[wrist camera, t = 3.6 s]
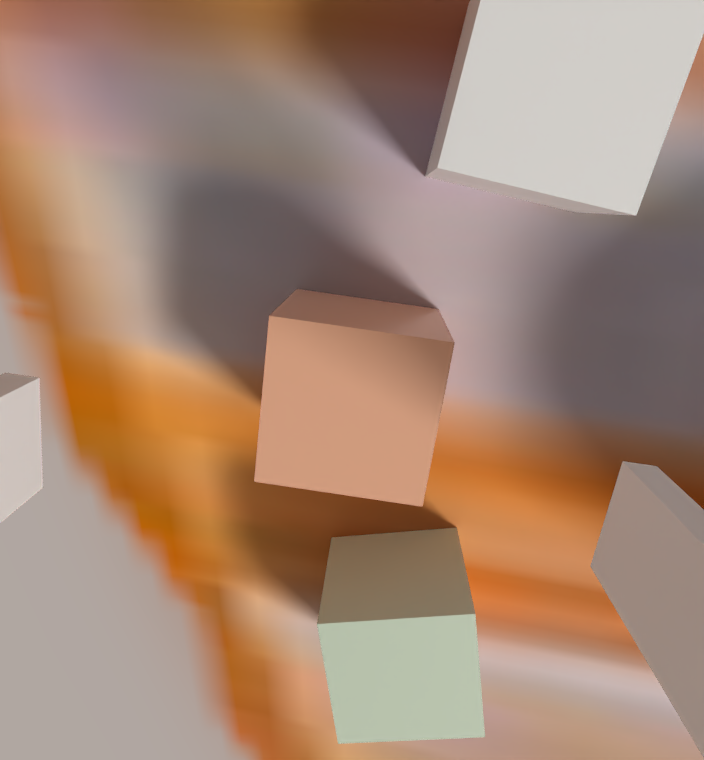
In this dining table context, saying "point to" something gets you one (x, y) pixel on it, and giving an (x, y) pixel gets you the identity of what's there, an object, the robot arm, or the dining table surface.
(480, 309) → the dining table surface
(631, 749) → the dining table surface
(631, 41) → the grey block
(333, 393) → the terracotta block
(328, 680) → the sage block
